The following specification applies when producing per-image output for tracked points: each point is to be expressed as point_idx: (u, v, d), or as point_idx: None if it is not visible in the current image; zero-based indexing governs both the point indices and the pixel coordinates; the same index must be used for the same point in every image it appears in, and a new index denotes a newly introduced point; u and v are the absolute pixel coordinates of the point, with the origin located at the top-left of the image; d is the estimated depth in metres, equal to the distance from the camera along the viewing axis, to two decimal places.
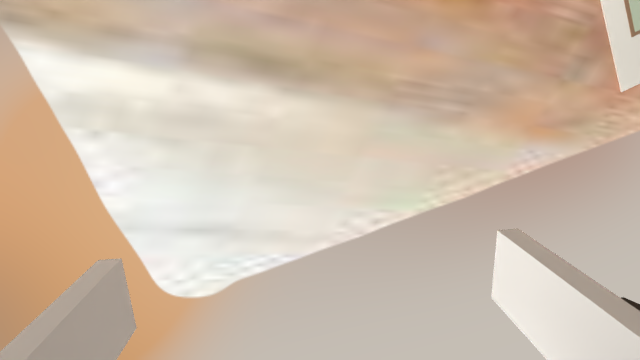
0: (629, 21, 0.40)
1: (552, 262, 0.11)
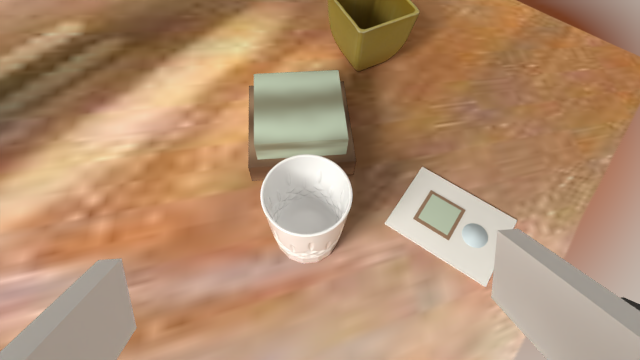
0: (435, 230, 0.41)
1: (552, 262, 0.11)
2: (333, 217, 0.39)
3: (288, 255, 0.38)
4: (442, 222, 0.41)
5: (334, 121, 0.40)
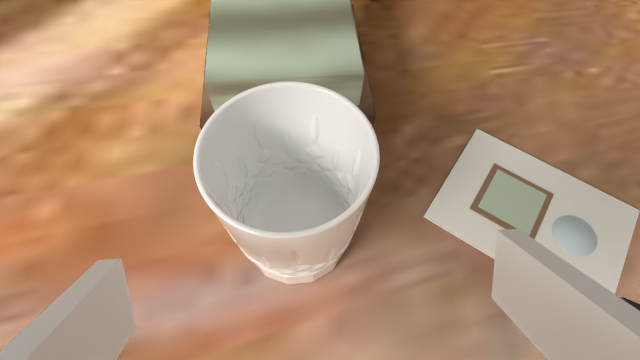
0: (508, 227, 0.25)
1: (552, 262, 0.11)
2: (339, 204, 0.23)
3: (262, 271, 0.22)
4: (518, 214, 0.25)
5: (339, 48, 0.24)
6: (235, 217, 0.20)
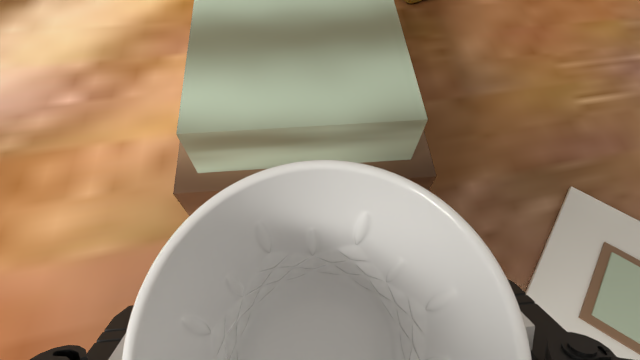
0: None
1: None
2: (389, 328, 0.14)
3: None
4: None
5: (385, 77, 0.16)
6: None
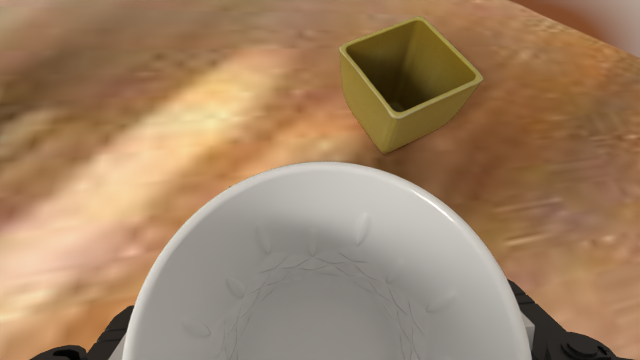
0: None
1: None
2: (389, 329, 0.14)
3: None
4: None
5: None
6: None
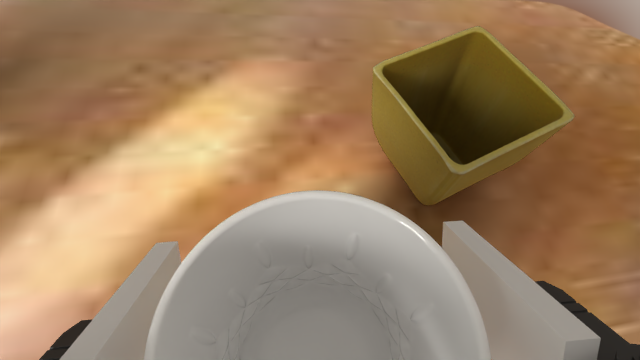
0: None
1: (483, 249, 0.12)
2: (380, 334, 0.16)
3: None
4: None
5: None
6: None
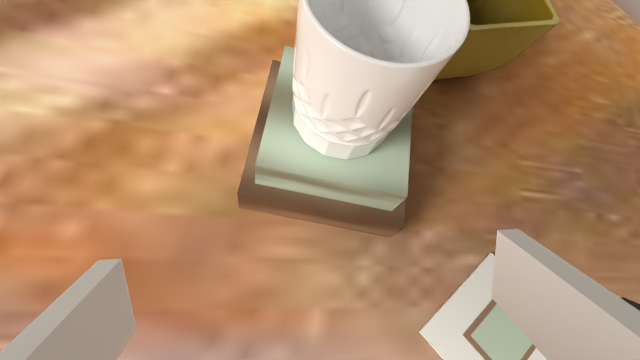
0: None
1: (552, 262, 0.11)
2: None
3: (305, 133, 0.23)
4: (504, 353, 0.27)
5: (390, 160, 0.25)
6: None
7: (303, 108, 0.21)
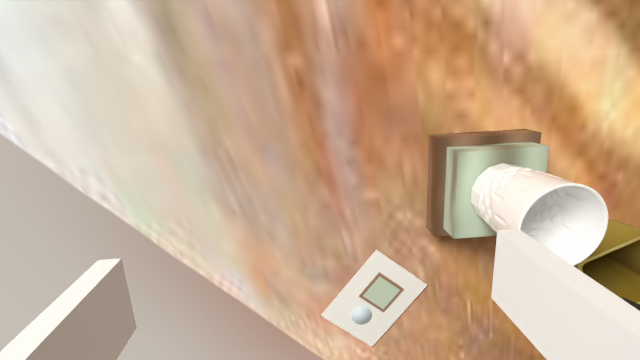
0: (367, 287, 0.49)
1: (552, 262, 0.11)
2: None
3: (483, 178, 0.39)
4: (374, 294, 0.49)
5: (474, 226, 0.41)
6: None
7: (497, 179, 0.36)
